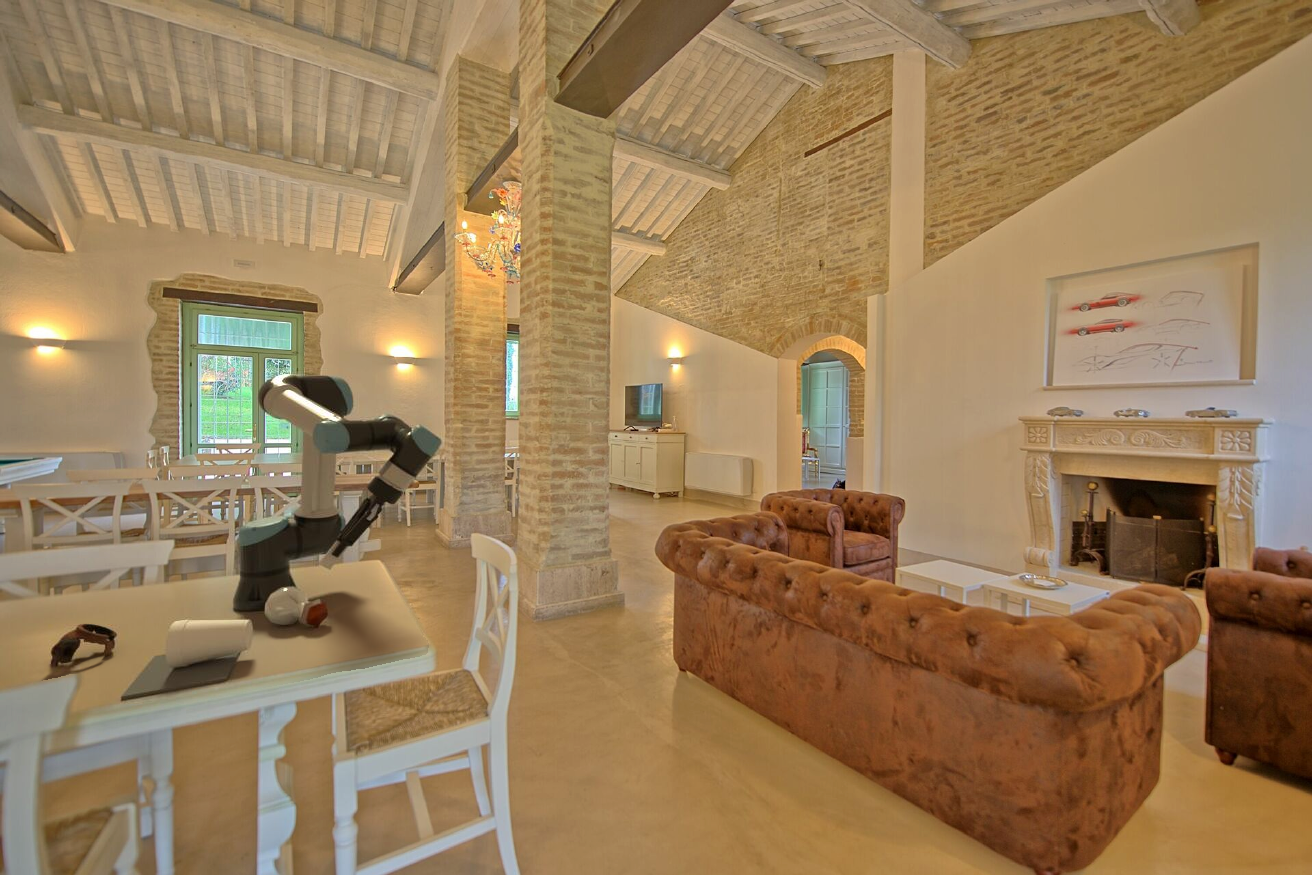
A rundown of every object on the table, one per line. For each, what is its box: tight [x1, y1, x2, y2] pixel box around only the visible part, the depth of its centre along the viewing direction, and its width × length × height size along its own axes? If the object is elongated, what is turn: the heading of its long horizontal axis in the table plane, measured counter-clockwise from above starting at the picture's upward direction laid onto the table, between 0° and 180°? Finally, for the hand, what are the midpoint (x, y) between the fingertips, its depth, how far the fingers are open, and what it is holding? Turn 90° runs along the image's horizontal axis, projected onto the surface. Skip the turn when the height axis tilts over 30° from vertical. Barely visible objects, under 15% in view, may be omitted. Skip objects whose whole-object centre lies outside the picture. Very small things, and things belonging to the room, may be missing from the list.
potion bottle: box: [264, 586, 329, 628], centre depth 144 cm, size 9×10×15 cm
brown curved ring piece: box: [50, 623, 118, 667], centre depth 124 cm, size 12×10×8 cm
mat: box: [120, 652, 241, 700], centre depth 119 cm, size 16×20×1 cm
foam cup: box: [165, 619, 254, 668], centre depth 122 cm, size 10×9×13 cm
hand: (324, 565), depth 133 cm, fingers closed
